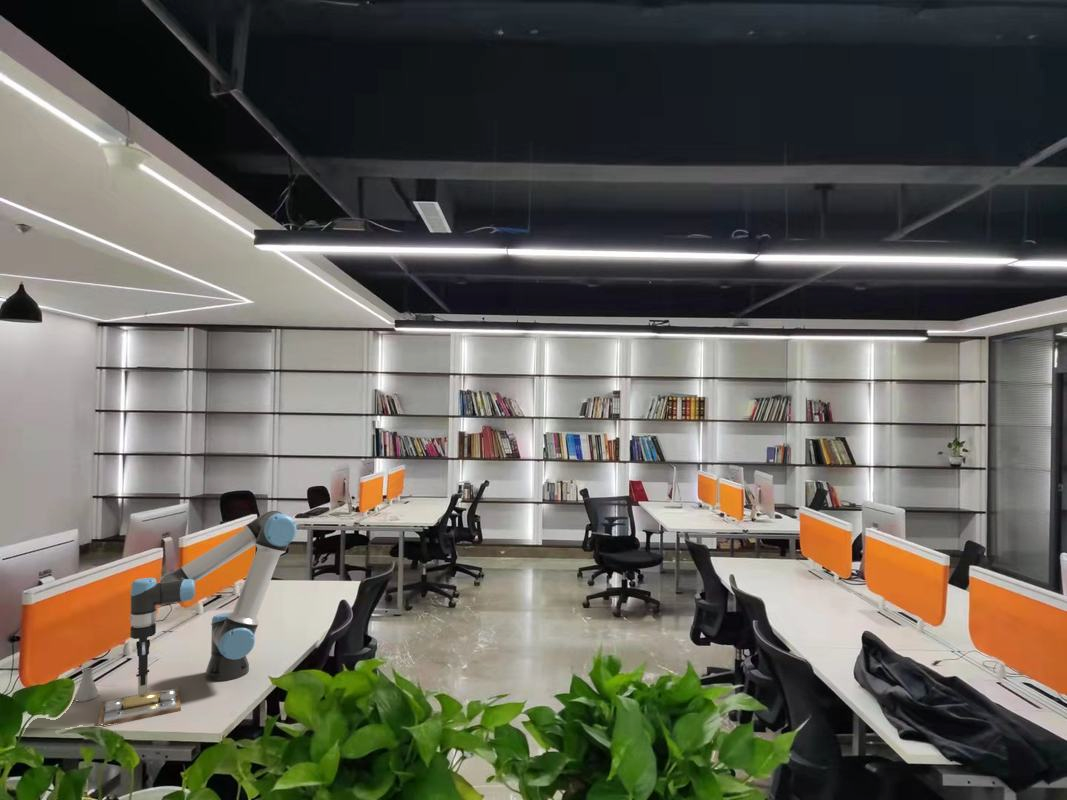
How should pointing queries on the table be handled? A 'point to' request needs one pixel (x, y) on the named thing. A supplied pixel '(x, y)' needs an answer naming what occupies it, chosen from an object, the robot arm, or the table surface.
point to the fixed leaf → (115, 707)
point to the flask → (86, 687)
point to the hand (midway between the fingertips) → (142, 693)
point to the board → (178, 708)
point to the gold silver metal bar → (140, 700)
